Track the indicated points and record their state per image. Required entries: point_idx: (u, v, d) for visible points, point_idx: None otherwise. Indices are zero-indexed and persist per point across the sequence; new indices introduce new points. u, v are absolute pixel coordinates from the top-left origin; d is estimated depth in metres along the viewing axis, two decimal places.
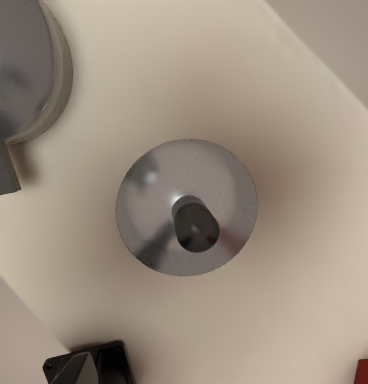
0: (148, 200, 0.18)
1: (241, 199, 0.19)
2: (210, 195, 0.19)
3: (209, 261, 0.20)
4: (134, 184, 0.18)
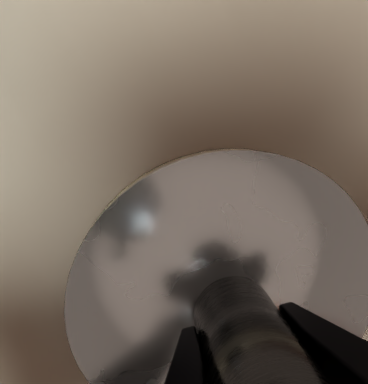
0: (140, 291, 0.08)
1: (345, 280, 0.09)
2: (280, 275, 0.08)
3: None
4: (106, 257, 0.08)
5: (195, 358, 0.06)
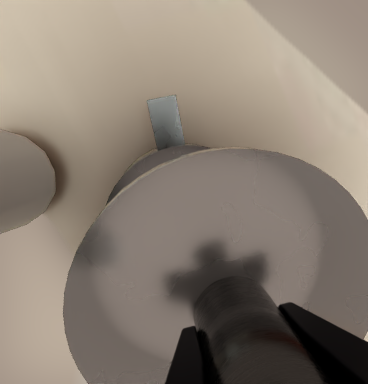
0: (140, 291, 0.08)
1: (347, 280, 0.09)
2: (282, 275, 0.08)
3: None
4: (106, 257, 0.07)
5: (196, 358, 0.06)
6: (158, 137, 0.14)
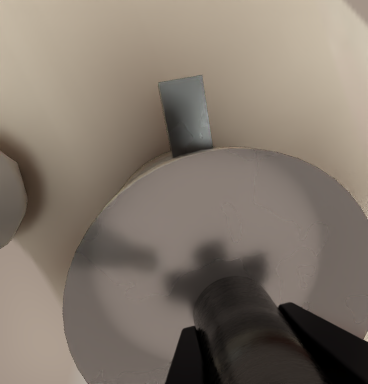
0: (140, 291, 0.08)
1: (347, 280, 0.09)
2: (281, 275, 0.08)
3: None
4: (105, 257, 0.07)
5: (196, 358, 0.06)
6: (174, 138, 0.10)
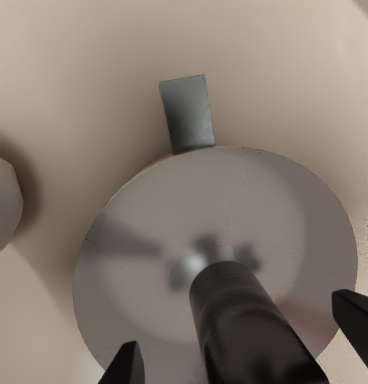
0: (141, 274, 0.09)
1: (328, 265, 0.10)
2: (268, 260, 0.09)
3: None
4: (110, 243, 0.08)
5: (123, 376, 0.06)
6: (175, 141, 0.09)
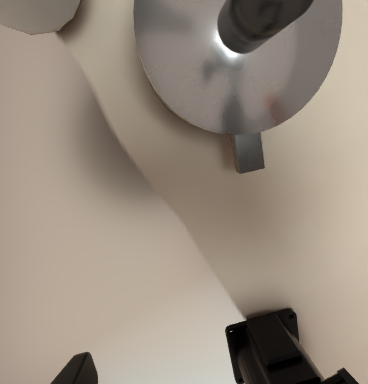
0: (183, 0, 0.12)
1: (320, 7, 0.13)
2: None
3: (270, 111, 0.14)
4: None
5: None
6: None
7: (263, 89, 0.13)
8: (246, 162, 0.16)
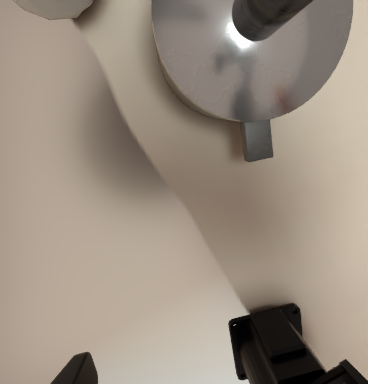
0: None
1: None
2: None
3: (281, 98, 0.14)
4: None
5: None
6: None
7: (274, 77, 0.14)
8: (255, 151, 0.16)
